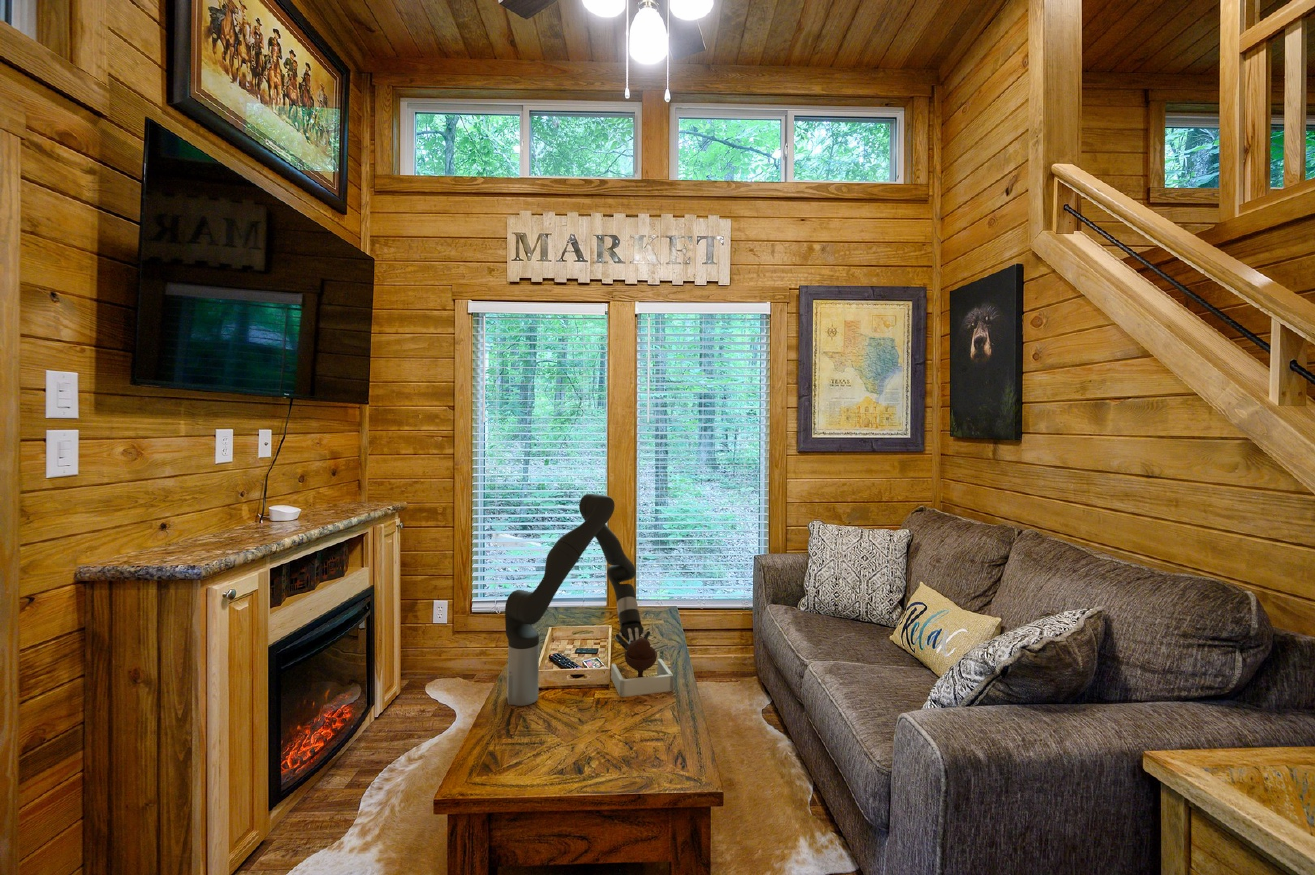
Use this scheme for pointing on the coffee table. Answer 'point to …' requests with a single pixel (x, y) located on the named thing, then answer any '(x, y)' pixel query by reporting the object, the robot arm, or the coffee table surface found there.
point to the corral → (643, 682)
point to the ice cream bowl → (640, 655)
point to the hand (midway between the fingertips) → (637, 660)
